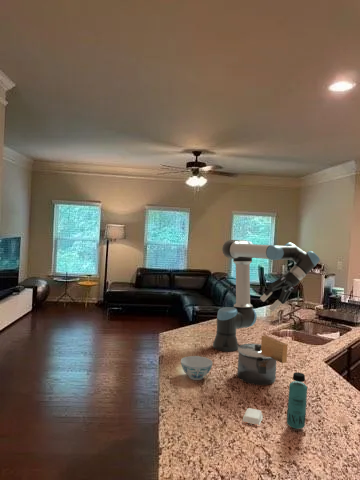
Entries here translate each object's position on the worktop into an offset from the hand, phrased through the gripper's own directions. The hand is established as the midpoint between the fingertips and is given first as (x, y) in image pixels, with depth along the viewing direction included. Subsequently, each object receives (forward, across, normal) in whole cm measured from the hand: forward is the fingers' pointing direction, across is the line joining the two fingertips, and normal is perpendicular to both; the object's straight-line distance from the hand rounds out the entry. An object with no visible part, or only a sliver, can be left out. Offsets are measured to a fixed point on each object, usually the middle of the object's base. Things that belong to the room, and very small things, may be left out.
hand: (266, 305), depth 200 cm
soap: (+36, -33, -48) cm, 68 cm away
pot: (+29, -1, -25) cm, 38 cm away
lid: (+18, -7, -21) cm, 29 cm away
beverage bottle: (+26, -29, -59) cm, 71 cm away
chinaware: (+48, -17, -10) cm, 52 cm away
